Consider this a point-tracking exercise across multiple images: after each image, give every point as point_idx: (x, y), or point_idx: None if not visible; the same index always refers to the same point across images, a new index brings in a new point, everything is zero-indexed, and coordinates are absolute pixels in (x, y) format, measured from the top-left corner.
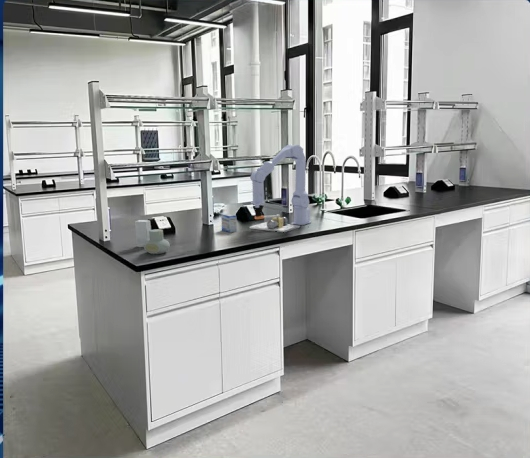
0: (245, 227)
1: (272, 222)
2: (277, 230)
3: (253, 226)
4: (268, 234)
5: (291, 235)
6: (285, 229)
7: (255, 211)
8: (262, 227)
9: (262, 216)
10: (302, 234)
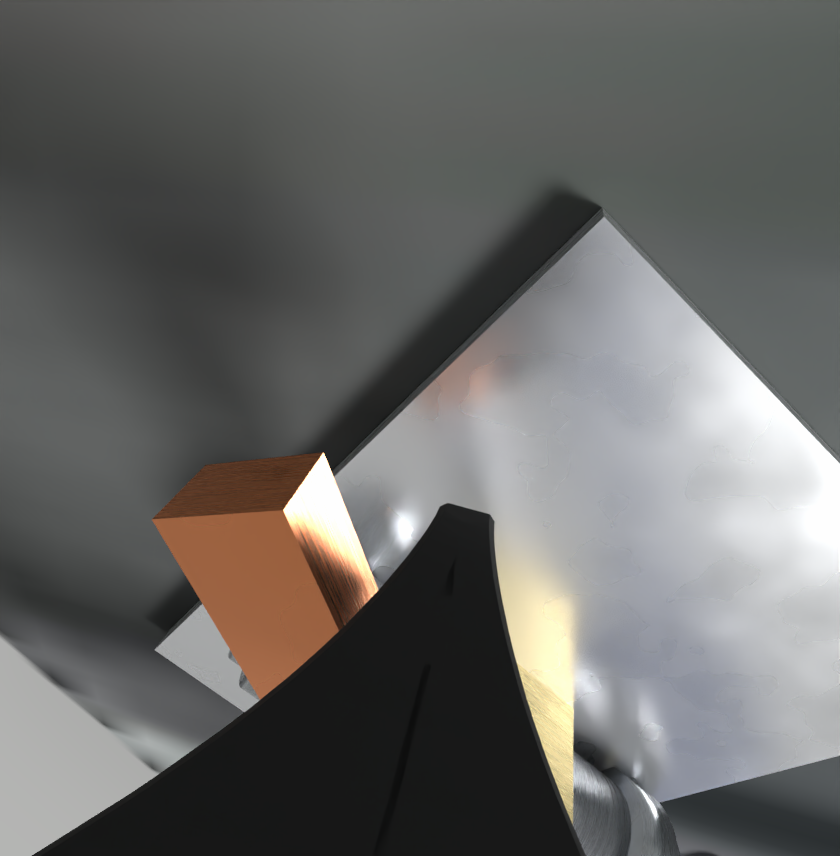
0: (824, 85)
1: (243, 676)
2: (200, 604)
3: (585, 325)
4: (34, 452)
5: (40, 640)
6: (225, 686)
7: (265, 714)
8: (411, 479)
9: (255, 676)
10: (102, 719)
